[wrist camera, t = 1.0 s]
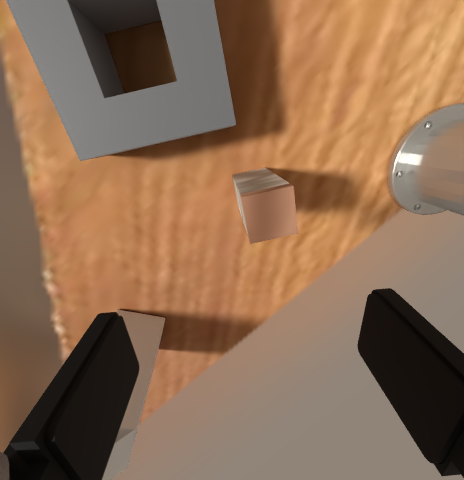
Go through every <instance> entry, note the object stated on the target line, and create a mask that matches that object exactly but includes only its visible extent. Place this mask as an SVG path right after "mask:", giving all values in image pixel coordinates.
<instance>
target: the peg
mask: <svg viewBox="0 0 464 480" xmlns="http://www.w3.org/2000/svg"><path fill="white" fill-rule="evenodd" d="M232 177H233V182H234V187H235V192H236V197H237V202H238V207H239V210H240V213H241V216H242V219H243V222H244V225H245V228H246V231H247V234H248V237H249V240H250V244H252V243H257V242H262V241H266V240H271V239H275V238H280V237H285V236H289V235H294V234H298V227H297V216H296V206H295V195H294V186H293V185H292V184H290V183H289V182H287V181H285V180H284V179H282V178H281V177H279V176H278V175H276V174H274V173H273V172H271V171H270V170H268V169H267V168H261V169H256V170H252V171H247V172H243V173H238V174H234V175H232Z"/></svg>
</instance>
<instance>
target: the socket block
mask: <svg viewBox="0 0 464 480" xmlns="http://www.w3.org/2000/svg"><path fill="white" fill-rule="evenodd" d="M6 2H7V4H8V6H9V8H10V10H11V12H12V15H13V17H14V19H15V21H16V23H17V25H18V28H19V30H20V32H21V34H22V36H23V38H24V41H25V43H26V45H27V47H28V49H29V51H30V54H31V56H32V58H33V60H34V62H35V64H36V67H37V69H38V71H39V73H40V75H41V77H42V80H43V82H44V84H45V86H46V88H47V90H48V93H49V95H50V97H51V99H52V101H53V103H54V106H55V108H56V110H57V112H58V114H59V116H60V119H61V121H62V123H63V125H64V127H65V129H66V132H67V134H68V136H69V138H70V140H71V142H72V145H73V147H74V149H75V151H76V153H77V155H78V158H79V160H80V161H82V160H87V159H92V158H98V157H103V156H108V155H113V154H117V153H122V152H126V151H130V150H135V149H139V148H143V147H148V146H152V145H156V144H161V143H165V142H169V141H174V140H178V139H183V138H187V137H191V136H196V135H200V134H204V133H209V132H213V131H217V130H222V129H226V128H230V127H233V126H235V125H236V121H235V115H234V110H233V104H232V98H231V93H230V87H229V82H228V76H227V71H226V65H225V59H224V54H223V48H222V43H221V37H220V31H219V26H218V20H217V15H216V9H215V4H214V0H6ZM161 20H162V24H163V28H164V32H165V36H166V40H167V44H168V48H169V51H170V55H171V59H172V63H173V67H174V71H175V75H176V79H177V81H176V82H172V83H168V84H163V85H159V86H155V87H151V88H146V89H142V90H138V91H134V92H129V93H125V92H124V90H123V87H122V84H121V81H120V78H119V75H118V72H117V69H116V66H115V63H114V60H113V58H112V55H111V52H110V49H109V46H108V43H107V40H106V37H105V34H107V33H111V32H115V31H119V30H124V29H128V28H132V27H136V26H140V25H144V24H148V23H152V22H157V21H161Z"/></svg>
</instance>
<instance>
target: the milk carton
mask: <svg viewBox="0 0 464 480" xmlns="http://www.w3.org/2000/svg"><path fill="white" fill-rule="evenodd" d="M116 313H118V315H119V316H122V317H123V319H124V322H125V325H126V328H127V330H128V333H129V336H130V339H131V342H132V345H133V348H134V350H135V353H136V356H137V359H138V362H139V367H140V368H139V374H138V377H137V380H136V383H135V386H134V389H133V392H132V395H131V397H130V400H129V403H128V406H127V409H126V412H125V415H124V418H123V421H122V423H121V426H120V429H119V432H118V435H117V438H116V441H115V444H114V446H113V449H112V452H111V455H110V458H109V461H108V464H107V467H106V470H105V472H104V475H103V478H102V480H112V479H113V478H115V477H116V476H117V475H118V474H119V473H121V472H122V471H123V470H124V469H126V468H127V466H128V463H129V459H130V455H131V452H132V448H133V444H134V441H135V437H136V433H137V429H138V425H139V422H140V418H141V414H142V410H143V406H144V403H145V399H146V395H147V391H148V387H149V384H150V380H151V376H152V372H153V368H154V365H155V361H156V357H157V353H158V349H159V345H160V341H161V337H162V332H163V328H164V324H165V318H164V317H158V316H152V315H146V314H141V313H135V312H129V311H123V310H117V311H116Z"/></svg>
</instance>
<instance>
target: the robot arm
mask: <svg viewBox="0 0 464 480" xmlns="http://www.w3.org/2000/svg"><path fill="white" fill-rule="evenodd" d="M388 187H389V190H390V194H391V196H392V197H393V199H394V201H395V202H396V203H397V204H398V205H399V206H400V207H402V208H404V209H405V210H407V211H410V212H413V213H416V214H422V215H427V214H435V213H440V212H443V211H445V210H449V211H452V212H455V213H458V214H461V215H464V103H460V104H452V105H448V106H443V107H441V108H438V109H436V110H434V111H432V112H430V113H429V114H427V115H425V116H424V117H422V118H421V119H420V120H419V121H417V122H416V123H415V124H414V125H413V126H412V127H411V128H410V129H409V130H408V131H407V132H406V134H405V135H404V136H403V137H402V139H401V141H400V142H399V144H398V145H397V147H396V149H395V151H394V153H393V155H392V158H391V161H390V165H389V170H388ZM358 351H359V353H360V355H361V357H362V358H363V360H364V362H365V363H366V365H367V366H368V368H369V369H370V371H371V373H372V374H373V376H374V377H375V379H376V381H377V382H378V384H379V385H380V387H381V389H382V390H383V392H384V393H385V395H386V396H387V398H388V399H389V401H390V403H391V404H392V406H393V408H394V409H395V411H396V412H397V414H398V416H399V417H400V419H401V420H402V422H403V424H404V425H405V427H406V428H407V430H408V431H409V433H410V435H411V436H412V438H413V439H414V441H415V442H416V444H417V446H418V447H419V449H420V450H421V452H422V454H423V455H424V457H425V458H426V459H427V460H428V461H429V462H430V463H433V464H434V465H435V466H436V468H437V469H438V471H439V473H440V474H441V476H448V475H460V474H461V475H462V476H463V478H464V353H462V352H461V351H460V350H459V349H458V348H457V347H456V346H455V345H453V343H451V342H450V341H449V340H448V339H447V338H446V337H445V336H444V335H442V334H441V333H440V332H439V331H438V330H437V329H436V328H435V327H434V326H433V325H431V324H430V323H429V322H428V321H427V320H426V319H425V318H424V317H423V316H422V315H420V314H419V313H418V312H417V311H416V310H415V309H414V308H413V307H412V306H411V305H409V304H408V303H407V302H406V301H405V300H404V299H403V298H402V297H401V296H400V295H398V294H397V293H396V292H395V291H394V290H392V289H390V288H388V289H376V290H373V291H372V293H371V294H369V295H368V297H367V302H366V307H365V312H364V316H363V321H362V326H361V331H360V335H359V340H358ZM139 368H140V367H139V362H138V359H137V356H136V353H135V350H134V348H133V345H132V342H131V339H130V336H129V333H128V330H127V328H126V325H125V322H124V319H123V317H122V316H119V315H118V313H116V312H110V313H100V314H98V315H97V316H96V318H95V319H94V321H93V322H92V324H91V325H90V327H89V328H88V329H87V331H86V332H85V334H84V335H83V337H82V338H81V340H80V341H79V343H78V344H77V345H76V347H75V348H74V350H73V351H72V353H71V354H70V356H69V357H68V359H67V360H66V361H65V363H64V364H63V366H62V367H61V369H60V370H59V372H58V373H57V375H56V376H55V377H54V379H53V380H52V382H51V383H50V385H49V386H48V388H47V389H46V390H45V392H44V393H43V395H42V396H41V398H40V399H39V401H38V402H37V404H36V405H35V406H34V408H33V410H32V411H31V412H30V414H29V415H28V417H27V418H26V420H25V421H24V422H23V424H22V426H21V427H20V428H19V430H18V431H17V433H16V434H15V436H14V437H13V438H12V440H11V441H10V443H9V445H8V447H7V448H6V450H5V451H4V453H2V452H0V480H102V478H103V475H104V472H105V470H106V467H107V464H108V461H109V458H110V455H111V452H112V449H113V446H114V444H115V441H116V438H117V435H118V432H119V429H120V426H121V423H122V421H123V418H124V415H125V412H126V409H127V406H128V403H129V400H130V397H131V395H132V392H133V389H134V386H135V383H136V380H137V377H138V374H139Z"/></svg>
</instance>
